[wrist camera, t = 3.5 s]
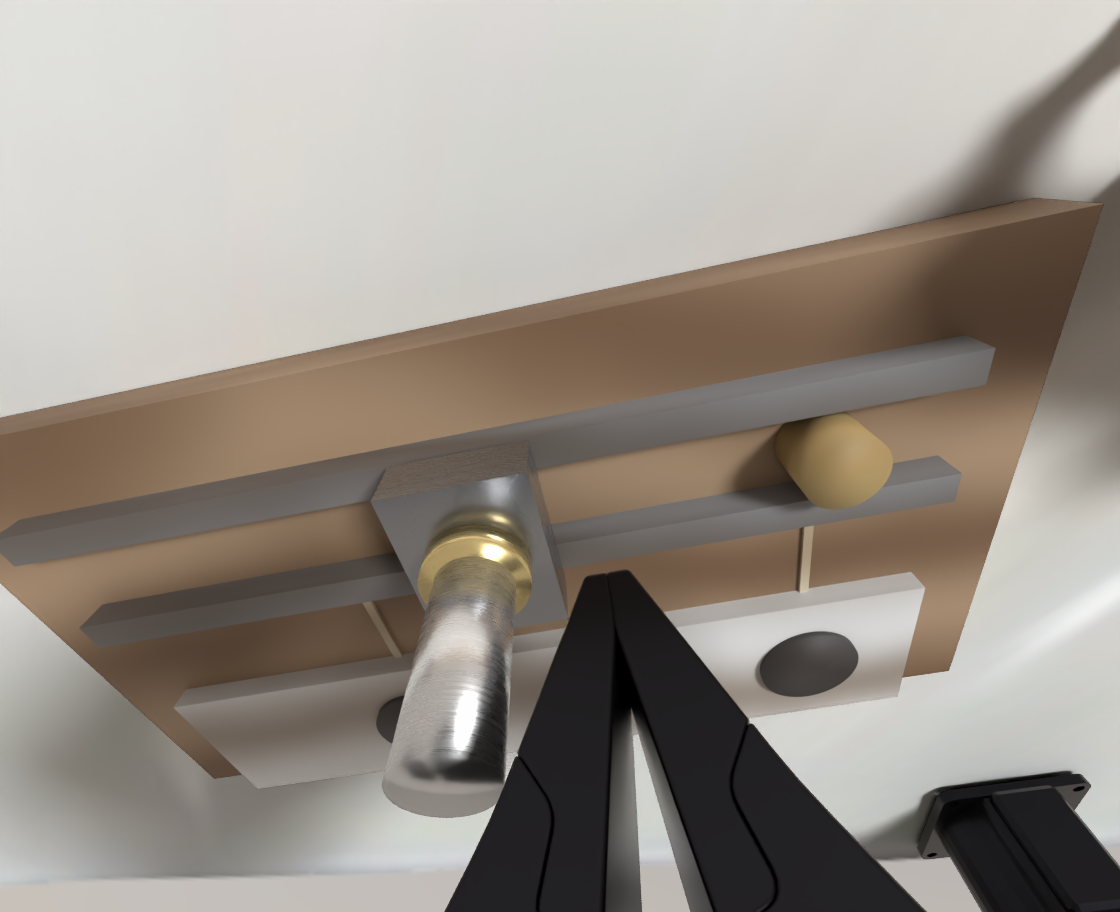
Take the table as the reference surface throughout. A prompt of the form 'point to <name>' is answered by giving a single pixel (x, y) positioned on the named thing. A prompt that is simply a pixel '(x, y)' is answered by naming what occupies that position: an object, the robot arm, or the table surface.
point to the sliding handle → (466, 617)
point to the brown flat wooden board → (561, 486)
